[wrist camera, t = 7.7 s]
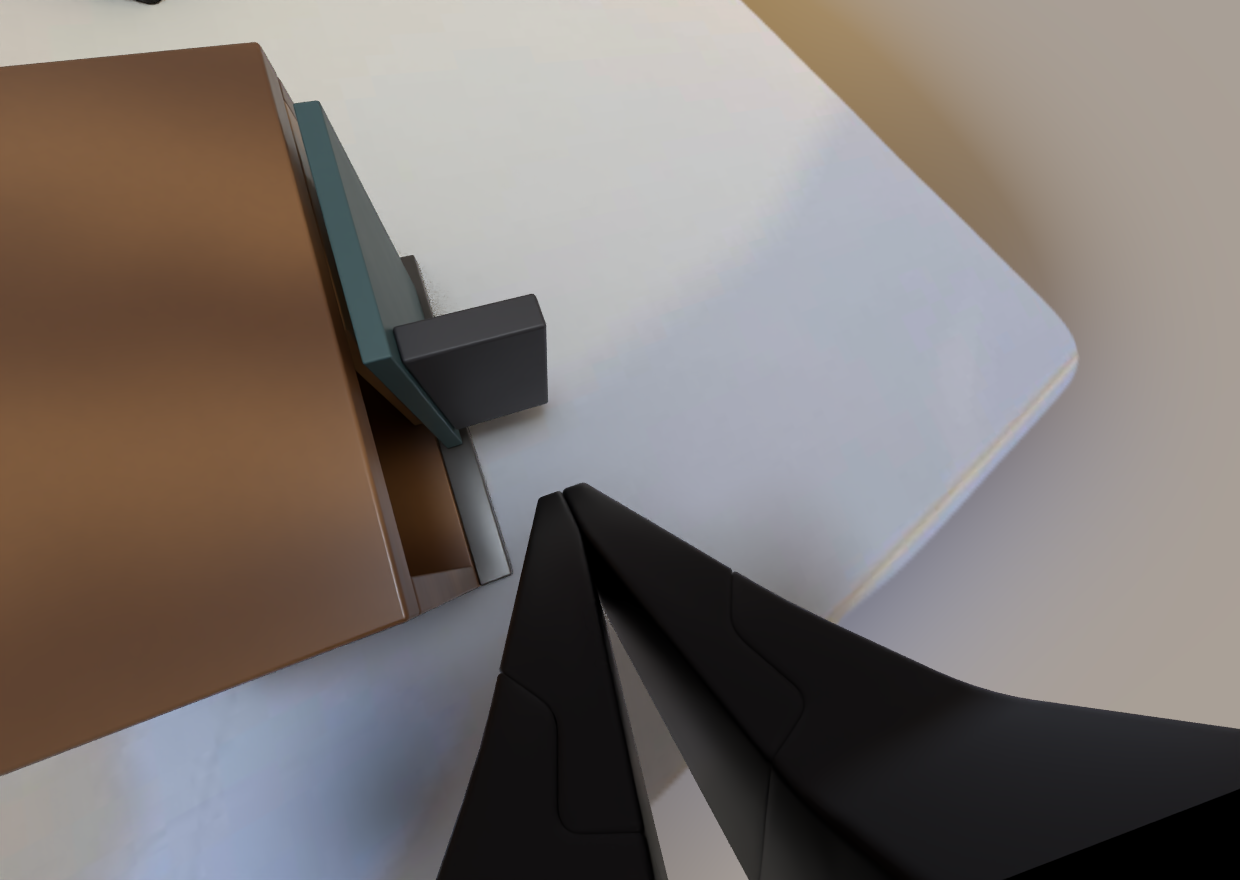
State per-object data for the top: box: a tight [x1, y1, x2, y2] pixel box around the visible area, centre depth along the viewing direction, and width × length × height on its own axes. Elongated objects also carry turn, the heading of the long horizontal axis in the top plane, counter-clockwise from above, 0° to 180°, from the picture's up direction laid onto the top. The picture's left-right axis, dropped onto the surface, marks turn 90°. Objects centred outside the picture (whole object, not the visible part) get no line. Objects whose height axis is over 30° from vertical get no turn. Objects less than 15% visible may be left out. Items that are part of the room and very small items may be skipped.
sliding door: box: [293, 101, 548, 448], centre depth 14 cm, size 7×4×8 cm, turn 20°
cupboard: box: [0, 42, 513, 776], centre depth 13 cm, size 14×9×9 cm, turn 20°
